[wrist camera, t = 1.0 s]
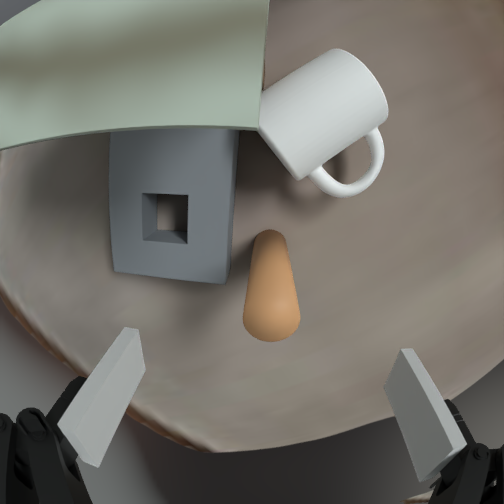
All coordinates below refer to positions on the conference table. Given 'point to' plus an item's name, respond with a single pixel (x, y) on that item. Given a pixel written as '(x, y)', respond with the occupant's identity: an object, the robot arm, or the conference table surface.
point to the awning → (130, 67)
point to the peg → (271, 290)
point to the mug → (324, 118)
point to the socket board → (173, 182)
